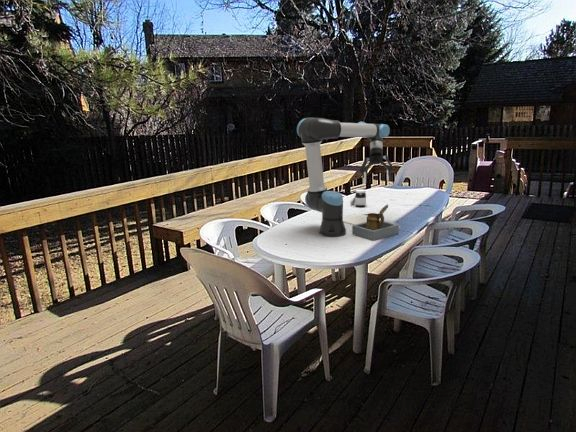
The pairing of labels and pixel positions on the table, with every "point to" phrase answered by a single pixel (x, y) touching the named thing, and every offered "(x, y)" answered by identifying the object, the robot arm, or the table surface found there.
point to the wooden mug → (375, 219)
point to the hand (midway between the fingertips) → (376, 181)
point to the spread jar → (359, 198)
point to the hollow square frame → (375, 231)
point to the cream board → (354, 219)
